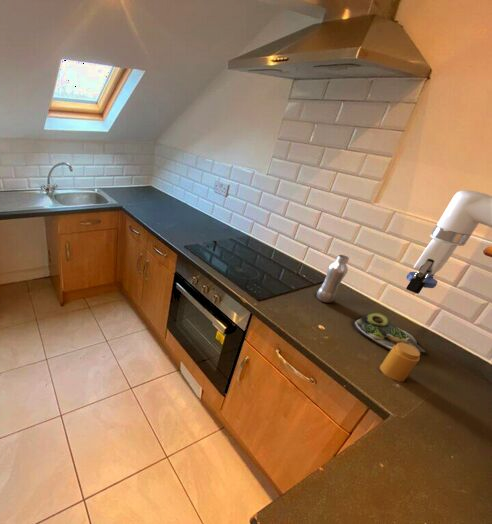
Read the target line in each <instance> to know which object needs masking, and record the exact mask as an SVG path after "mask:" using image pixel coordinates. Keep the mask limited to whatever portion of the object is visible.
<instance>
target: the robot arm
mask: <svg viewBox="0 0 492 524" xmlns="http://www.w3.org/2000/svg"><path fill="white" fill-rule="evenodd" d="M479 224H481V225H484V226H486V227H489V228H492V195H490V194H487V193H484V192H479V191H476V190H475V191H473V190H458V191H457V192H456V193H455V194H454V195H453V196H452V198H451V200H450V202H449V203H448V205H447V207H446V208H445V210H444V212H443V213H442V215H441V217H440V218H439V220H438V221H437V223H436V225H435V226H434V228H433V229H432V231H431V233H430V235H429V237H430V238H432V239H431V241H429V243H428V244H427V246H426V247H425V249H424V250H423V252H422V253H421V255H420V256H419V258H418V259H417V261H416V262H415V263H414V265H413V269H414V270H417V271H416V272H417V273H416V274H415V276H414V277H413V278H412V279H411V281H409V283H408V284H407V286H406V288H405V289H406V290H407V291H409V292H412V293H413V294H415V295H419V294H420V293H421V291H422V290H423V288H425V289H427V288H426V287H424V285H425V284H426V282H425V281H426V280H427V279H428V277H429V276H430V277H432V278H434V276H435V275H436V274H437V273H438V272H439V271H441V269H442V268H443V267H444V266H445V265H446V263H447V262H448V260H449V259H450V258H451V256H452V255H453V253H454V252H455V250H456V249H457V247H458V246H459V247H464V246H465V245H466V243H467V242H468V241H469V240H470V238H471V236H472V235H473V233H474V231H475V230H476V228H477V227H478V225H479ZM424 274H425V275H426V276H425V275H424Z"/></svg>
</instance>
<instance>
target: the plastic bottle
mask: <svg viewBox="0 0 492 524" xmlns="http://www.w3.org/2000/svg"><path fill="white" fill-rule="evenodd" d="M349 260H350V256H349V257H348V256H346V255H345V254H338V256H337V258H336V260H335V261H333V262H332V263H330V265H329V266H328V267H327V272H326V275H325V278H324V280H323V282H322V283H321V286H320V287H319V289H318V290H317V292H316V297H317V299H318V300H319V301H321V302H323V303H325V304H327V303H328V304H329V303H332V302H334V300H335V299H336V296H337V292H338V289H339V286H340V284H341V282H342V281H343V279H344V278H345V277H346V275H347V273H348V270H349V269H348V266H347V264H348V263H349Z"/></svg>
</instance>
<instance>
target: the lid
mask: <svg viewBox="0 0 492 524" xmlns="http://www.w3.org/2000/svg"><path fill="white" fill-rule="evenodd" d="M417 272H418V271H409V272H408V273H407V275H406V277H405V278H406V280H407V281H408V282H410V281H411V279H412V278H413V277H414V276H415V274H416V273H417ZM424 275H425V274H424ZM425 276H426V275H425ZM432 277H433V276H432ZM432 277H430V276H429V277H428V279H427V280H426V281H425V282H426V284H425V285H424V287H426V288H425V289H435V288H436V287H437V285H438V282H439V281H438V280H437V279H436V278H434V277H433V278H432ZM424 287H423V288H424Z"/></svg>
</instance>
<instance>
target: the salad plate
mask: <svg viewBox="0 0 492 524" xmlns="http://www.w3.org/2000/svg"><path fill="white" fill-rule="evenodd" d="M353 325H354V328H355V330H356V331H357V332H358V333H359V334H360V335H362V336H363V337H365V338H366V339H369V340H370V341H372V342H373V343H376V344H377V345H379V346H380V347H383V348H385V349H387V350H389V351H390V350H391V349H392V347H393V346H394V345H396V344H397V343H406V344H408V345H411V346H413V347H414V348H416V349H417V350H418V351H419V352H420V353H426V351H425V350H424V349H423V347H421V346H420V345H419V344H417V343H418V342H417V339H416V338H415V337H414V336H413V335H412V334H411V333H409V332H408V331H405V330H403V329H401V328H399V327H398V326H397V325H395V324H393V323H392V322H391V321H390V320H389V318H388V317H387V316H386V315H385V314H383V313H380V312H370V313H368V314H366V316H363V317H361V318H359V319H356V320H355V321H354V322H353Z"/></svg>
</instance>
